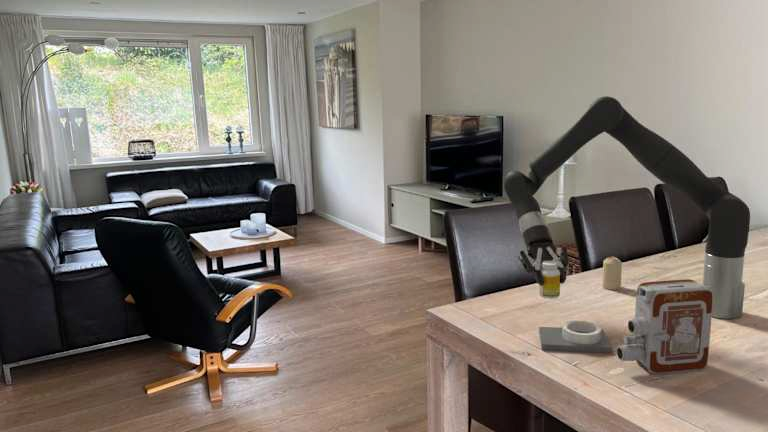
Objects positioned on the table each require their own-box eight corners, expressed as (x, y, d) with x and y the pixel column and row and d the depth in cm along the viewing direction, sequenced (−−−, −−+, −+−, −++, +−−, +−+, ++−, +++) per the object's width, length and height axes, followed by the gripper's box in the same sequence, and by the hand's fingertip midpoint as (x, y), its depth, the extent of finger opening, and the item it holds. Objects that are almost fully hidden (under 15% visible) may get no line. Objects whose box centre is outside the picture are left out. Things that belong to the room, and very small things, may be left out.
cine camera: (607, 361, 132) (611, 280, 128) (686, 355, 134) (692, 274, 130) (627, 380, 123) (632, 293, 119) (712, 373, 125) (719, 287, 121)
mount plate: (602, 334, 147) (603, 320, 146) (610, 353, 136) (610, 337, 135) (539, 331, 150) (539, 317, 149) (541, 349, 139) (542, 334, 139)
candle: (622, 290, 178) (623, 260, 176) (604, 289, 180) (605, 259, 178) (618, 284, 184) (620, 255, 182) (601, 284, 185) (602, 255, 183)
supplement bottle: (535, 294, 157) (535, 261, 155) (551, 291, 158) (552, 258, 157) (547, 300, 152) (547, 266, 150) (564, 297, 153) (564, 263, 152)
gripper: (514, 226, 158) (531, 279, 148) (562, 221, 159) (582, 274, 150) (507, 239, 164) (523, 292, 155) (554, 235, 166) (573, 287, 156)
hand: (552, 283), depth 152 cm, fingers closed on supplement bottle, 5 cm apart
